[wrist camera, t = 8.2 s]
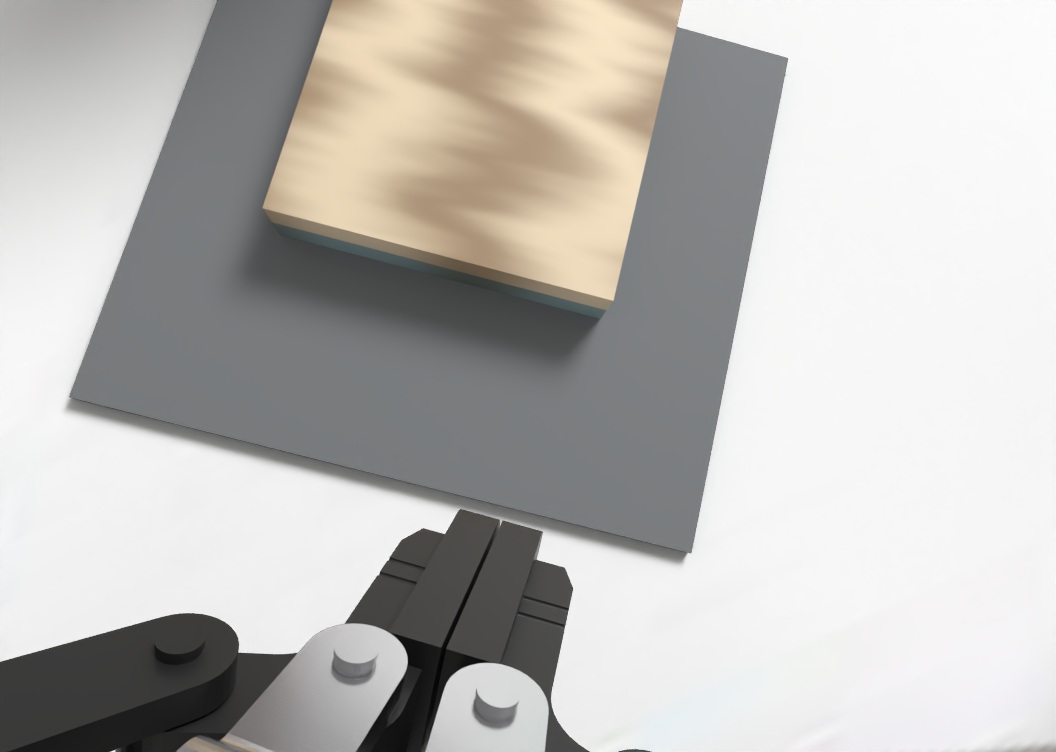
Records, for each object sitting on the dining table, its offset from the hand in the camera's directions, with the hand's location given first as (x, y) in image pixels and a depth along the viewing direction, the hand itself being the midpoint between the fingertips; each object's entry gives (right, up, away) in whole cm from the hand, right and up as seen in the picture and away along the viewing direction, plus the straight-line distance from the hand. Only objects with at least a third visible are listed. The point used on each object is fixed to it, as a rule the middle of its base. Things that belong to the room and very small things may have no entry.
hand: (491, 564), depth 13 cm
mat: (-2, +9, +15) cm, 18 cm away
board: (-2, +7, +13) cm, 15 cm away
